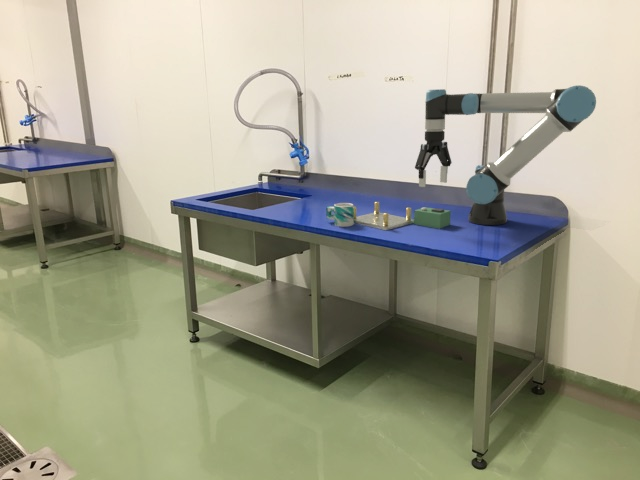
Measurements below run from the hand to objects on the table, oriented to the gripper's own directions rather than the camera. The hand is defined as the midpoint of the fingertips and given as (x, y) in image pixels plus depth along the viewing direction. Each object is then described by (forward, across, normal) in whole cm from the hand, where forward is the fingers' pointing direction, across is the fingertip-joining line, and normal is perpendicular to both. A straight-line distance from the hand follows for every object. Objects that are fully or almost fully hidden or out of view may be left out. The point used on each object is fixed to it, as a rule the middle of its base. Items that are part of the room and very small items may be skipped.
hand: (433, 184), depth 214 cm
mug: (+17, +25, -28) cm, 41 cm away
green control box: (+17, 0, 0) cm, 17 cm away
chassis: (+16, +11, -18) cm, 27 cm away
